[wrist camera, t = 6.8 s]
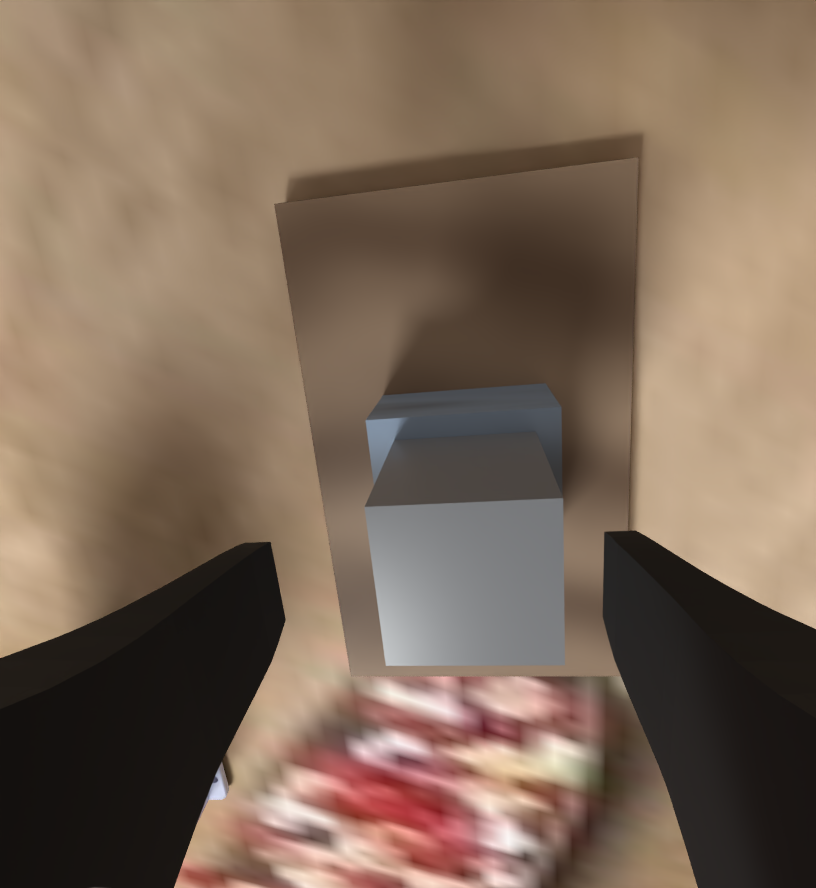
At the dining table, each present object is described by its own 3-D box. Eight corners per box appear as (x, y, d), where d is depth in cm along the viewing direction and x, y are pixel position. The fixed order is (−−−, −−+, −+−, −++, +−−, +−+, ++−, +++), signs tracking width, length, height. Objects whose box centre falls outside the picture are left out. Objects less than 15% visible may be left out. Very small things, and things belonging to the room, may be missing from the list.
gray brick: (539, 558, 17) (564, 665, 13) (407, 562, 18) (385, 666, 13) (536, 431, 16) (562, 498, 11) (394, 440, 17) (364, 506, 12)
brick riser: (617, 659, 24) (650, 745, 19) (355, 661, 25) (332, 740, 21) (629, 163, 18) (680, 129, 13) (284, 207, 19) (231, 189, 15)
